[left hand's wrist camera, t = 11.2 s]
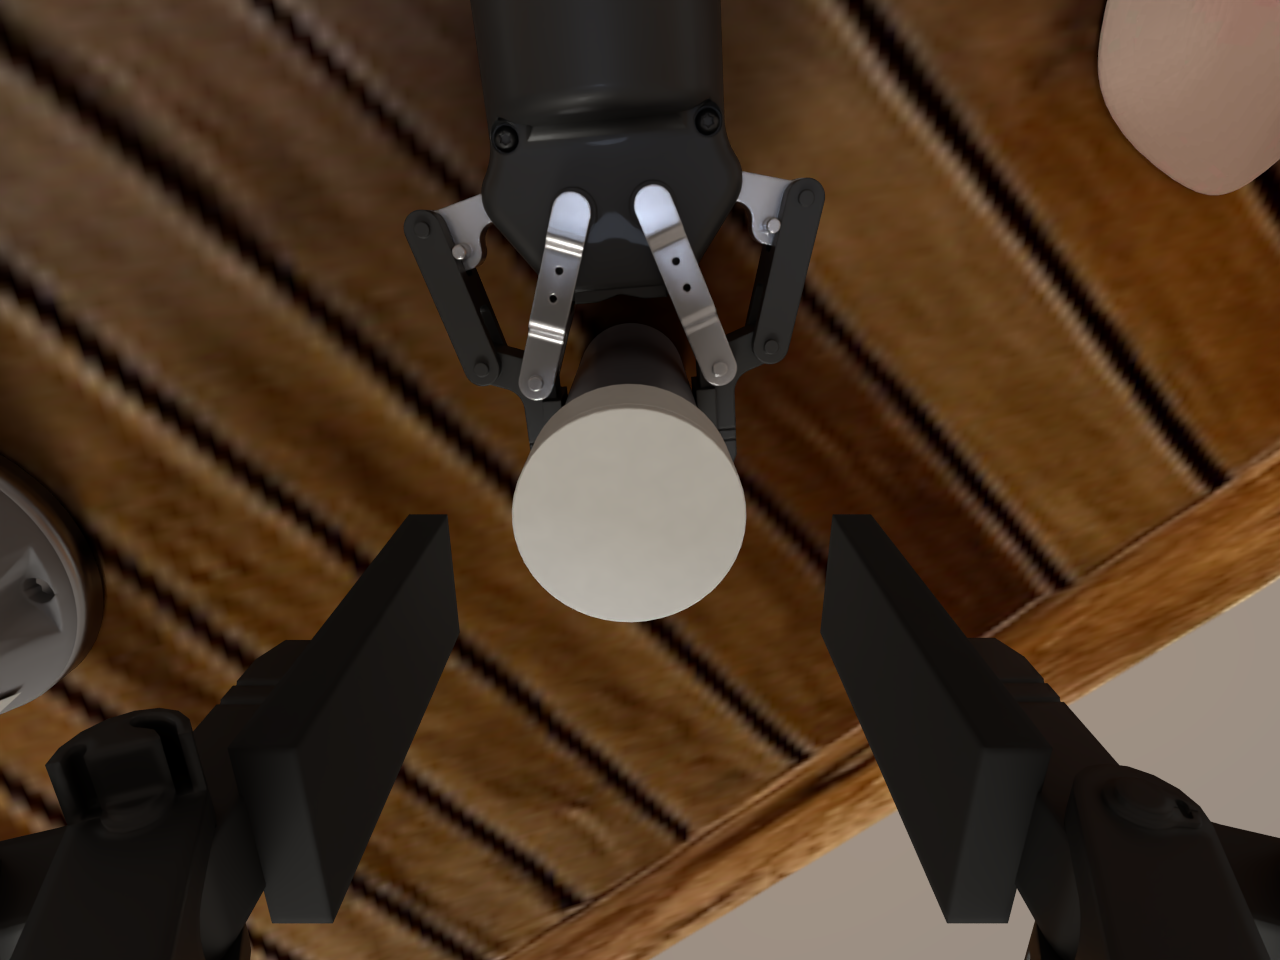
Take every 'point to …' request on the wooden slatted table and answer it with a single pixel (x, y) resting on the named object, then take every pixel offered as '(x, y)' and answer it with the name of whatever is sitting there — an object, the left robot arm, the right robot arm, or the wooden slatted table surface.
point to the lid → (629, 504)
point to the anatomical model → (1195, 86)
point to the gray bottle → (631, 362)
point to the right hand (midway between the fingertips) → (637, 480)
